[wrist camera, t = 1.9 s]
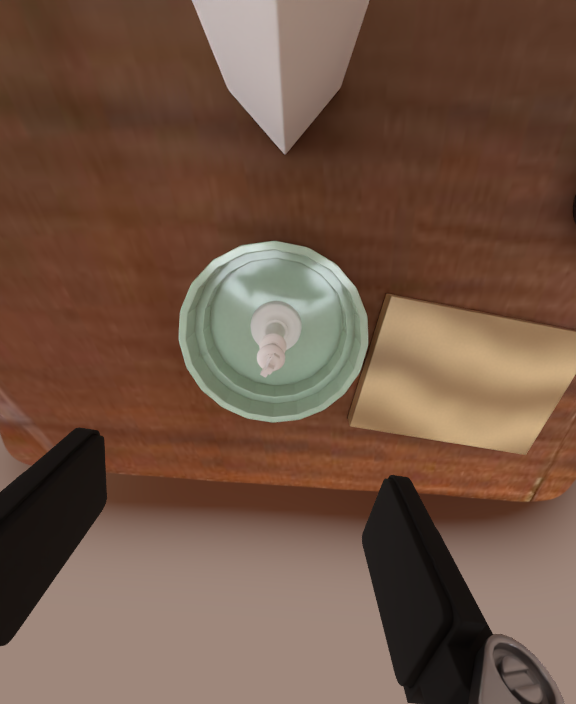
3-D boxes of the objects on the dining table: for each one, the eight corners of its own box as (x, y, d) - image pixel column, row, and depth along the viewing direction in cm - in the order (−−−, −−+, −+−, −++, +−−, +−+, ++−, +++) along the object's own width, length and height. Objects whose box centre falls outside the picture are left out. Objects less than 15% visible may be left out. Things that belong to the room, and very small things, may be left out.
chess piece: (241, 333, 28) (216, 379, 18) (268, 290, 26) (256, 318, 17) (283, 359, 29) (280, 416, 19) (311, 320, 27) (323, 361, 18)
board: (386, 293, 26) (391, 295, 25) (583, 331, 28) (599, 336, 26) (347, 418, 31) (349, 426, 30) (515, 446, 33) (526, 455, 31)
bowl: (204, 225, 24) (183, 222, 20) (374, 260, 25) (393, 264, 21) (192, 381, 30) (174, 407, 25) (333, 404, 31) (341, 433, 26)
